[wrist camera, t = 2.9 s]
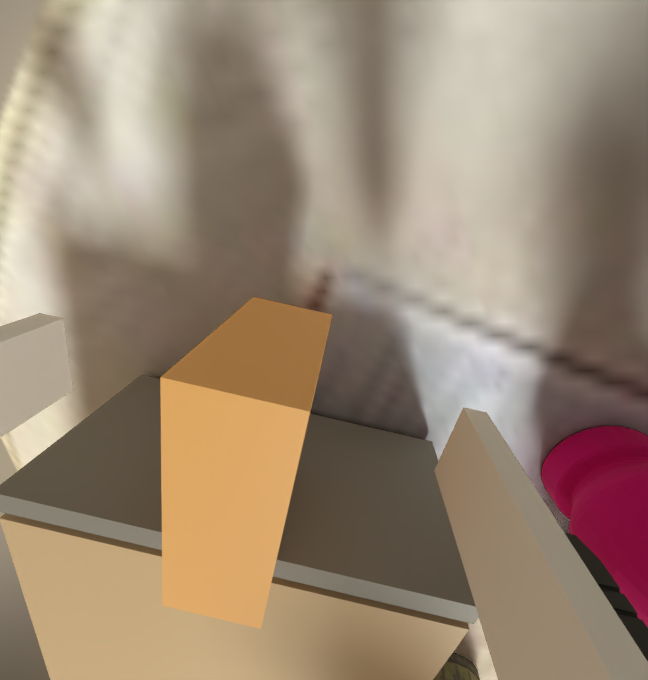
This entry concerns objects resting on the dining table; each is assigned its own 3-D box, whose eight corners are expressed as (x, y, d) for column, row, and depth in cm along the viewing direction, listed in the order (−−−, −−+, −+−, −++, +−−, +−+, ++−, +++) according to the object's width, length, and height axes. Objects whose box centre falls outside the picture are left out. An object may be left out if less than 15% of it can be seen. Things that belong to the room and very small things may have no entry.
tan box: (423, 454, 20) (469, 629, 12) (344, 635, 29) (339, 808, 20) (146, 390, 20) (-1, 518, 12) (152, 589, 29) (70, 743, 21)
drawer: (485, 318, 16) (691, 499, 6) (347, 634, 28) (341, 863, 18) (137, 240, 16) (-207, 292, 6) (149, 587, 28) (39, 788, 18)
